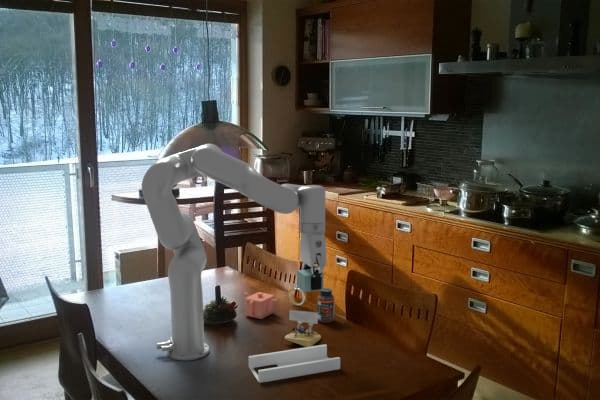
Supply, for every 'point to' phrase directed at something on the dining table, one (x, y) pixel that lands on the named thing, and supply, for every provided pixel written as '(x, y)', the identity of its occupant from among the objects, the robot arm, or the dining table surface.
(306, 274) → the green block
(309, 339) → the figurine with sign
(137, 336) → the dining table surface
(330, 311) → the supplement bottle
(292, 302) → the ring
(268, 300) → the pink cube
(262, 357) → the trough
